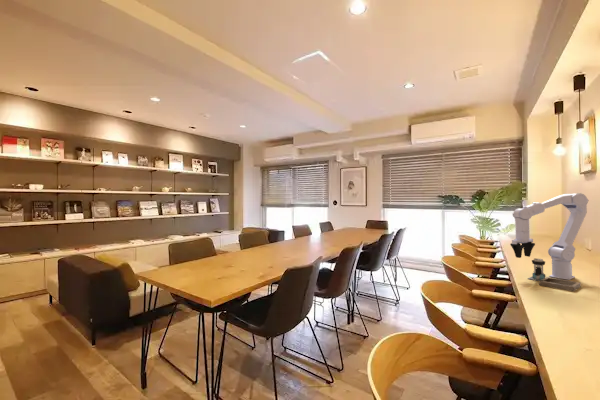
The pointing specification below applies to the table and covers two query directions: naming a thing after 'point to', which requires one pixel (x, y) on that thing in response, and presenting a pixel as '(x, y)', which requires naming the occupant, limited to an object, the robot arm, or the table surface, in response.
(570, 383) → the table surface
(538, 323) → the table surface
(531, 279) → the mat
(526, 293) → the table surface
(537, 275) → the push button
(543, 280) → the frame
